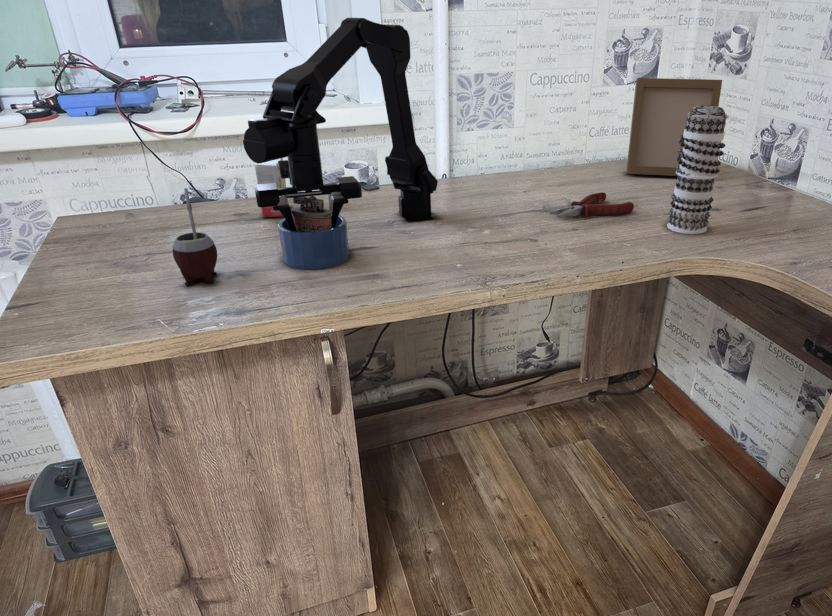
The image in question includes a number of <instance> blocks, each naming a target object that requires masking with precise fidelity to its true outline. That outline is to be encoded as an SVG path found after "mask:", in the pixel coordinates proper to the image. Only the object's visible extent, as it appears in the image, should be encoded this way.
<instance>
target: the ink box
mask: <svg viewBox="0 0 832 616" xmlns="http://www.w3.org/2000/svg"><path fill="white" fill-rule="evenodd" d="M283 160H284V158H280V159H276V160H272V161H268V162H264V163H259V164H257V163H255V162H254V164H253V165H254V170H255V176H256V182H257V183H256V185H257V184H269V183H276V185H277V188H287V181H286V179H281V178H280V172H279V165H278V161H283ZM287 200H288V201H289V198H287ZM260 209H261V216H262V218H284V217H283V215H282V214H281V212H280V211H274V210H273V207H262V208H261V207H260Z"/></svg>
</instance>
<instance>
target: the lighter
mask: <svg viewBox="0 0 832 616" xmlns="http://www.w3.org/2000/svg"><path fill="white" fill-rule="evenodd" d="M292 201H293V204H295V205H299V206H295V207H291V208H290V209H291V213H292V216H293V220H294V223H295V227H296V230H297V232H316V231H324V230H328V229H331V228H332V225H331V211H330V210H329V209H327V208H324V206H325V202H324V199H320V198H317V197H316V196H308V197H307V196H306V197H296V198H292Z"/></svg>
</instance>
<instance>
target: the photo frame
mask: <svg viewBox="0 0 832 616" xmlns="http://www.w3.org/2000/svg"><path fill="white" fill-rule="evenodd" d="M722 85H723V79H706V78H705V79H703V78H702V79H701V78H698V79H697V78H661V77H659V78H655V77H637V78H636V79H635V85H634V87H635V88H634V96H633V97H634V98H633V105H632V115H631V125H630V134H629V141H628V142H629V143H628V152H627V161H626V171H625V174H628V175H649V176H650V175H651V176H654V175H655V176H671V177H672V176H673V177H677V176H678V175H677V174H676V168H677V166H678V165H680V164H678V163H677V162H678V161H677V158H678V156H679V154H678V151H679V149H680V148H682V147H681V146H680V144H679V140H680V139H681V136H680V135H682V134H684V129H685V128H686V122H687V113H690V112H691V110H692V109H693V108H694V107H696V106H703V105H706V106H717V107H720V99H721V92H722V87H723V86H722Z"/></svg>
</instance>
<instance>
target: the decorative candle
mask: <svg viewBox="0 0 832 616" xmlns="http://www.w3.org/2000/svg"><path fill="white" fill-rule="evenodd" d="M728 118H729V115H727V113H726V112H725V109H724V108H723V107H721V106H719V107H717V106H706V105H703V106H696V107H694V108H693V109H692V110H691V112H690V113H687V122H686V128H685V129H684V134H682V135H680V136H681V139H680V140H679V144H680V146H681V147H682V148H680V149H679V151H678V154H679V156H678V158H677V161H678V162H677V163H678V164H680V165H678V166H677V168H676V174H677V175H678V176H676V183H675V185H674V190H673V194H672V195H671V199H672V200H671V201H670V203H669V204H670V209H669V210H668V214H669V215H668V216H667V221H668V223H667V224H666V227H667V229H669V230H670V231H673V232H676V233H678V234H685V235H700V234H703V233H706V232H707V231H708V227H707V226H708V224H710V221H709V219H710V217H711V213H710V210H712V208H713V206H712V203H713V202H714V198H713V194H714V185H715V179H717V178H718V176H719V173H720V172H721V171H720V169H719V168H718V167H719V166H721V164H722V162H721V161H720V160H719V158H721V157H722V156H724V154H725V153H724V151H723V150H722V149H724V148H726V144H725V143H724V141H723V140H724V139H725V134H726V132H725V128H726V124H727V123H726V122H727V119H728Z"/></svg>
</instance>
